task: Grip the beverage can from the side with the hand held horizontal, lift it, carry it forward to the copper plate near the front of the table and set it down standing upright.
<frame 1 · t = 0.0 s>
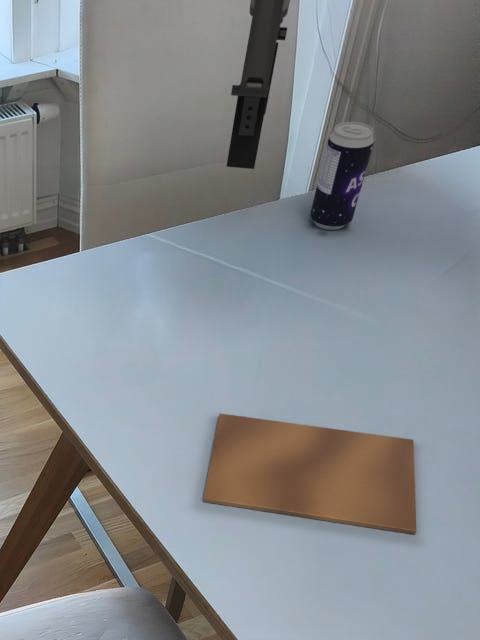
hand: (246, 138, 91), 21 cm above the table, tool pointing down, fingers open, 13 cm apart
copper plate: (310, 471, 89), on the table
beverage can: (329, 224, 122), on the table
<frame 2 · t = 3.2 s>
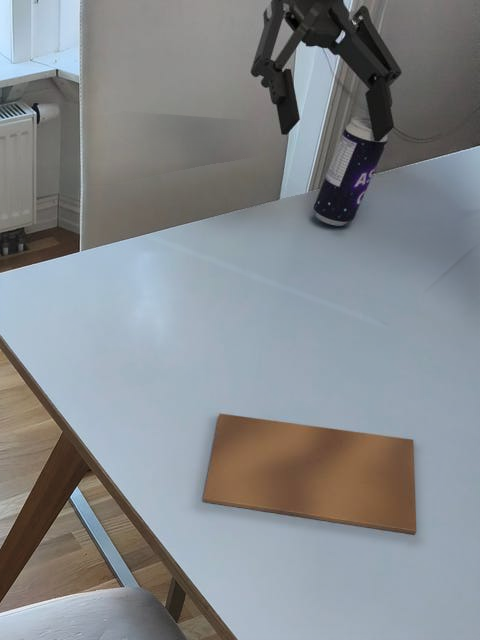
hand: (338, 131, 108), 14 cm above the table, tool tilted 55°, fingers open, 13 cm apart
beverage can: (330, 220, 122), on the table, touching gripper
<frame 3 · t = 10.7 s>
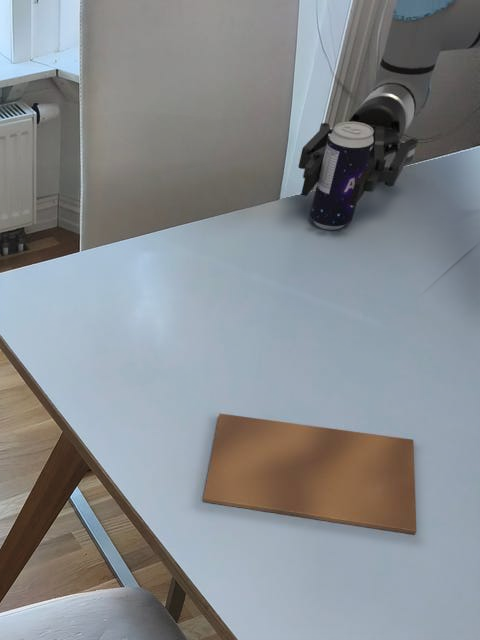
hand: (330, 189, 114), 6 cm above the table, tool horizontal, fingers closed on beverage can, 6 cm apart
beverage can: (328, 224, 122), on the table, touching gripper
when the fingers open (7 cm above the table, at t = 25.5 s): beverage can stays where it is, resting on copper plate.
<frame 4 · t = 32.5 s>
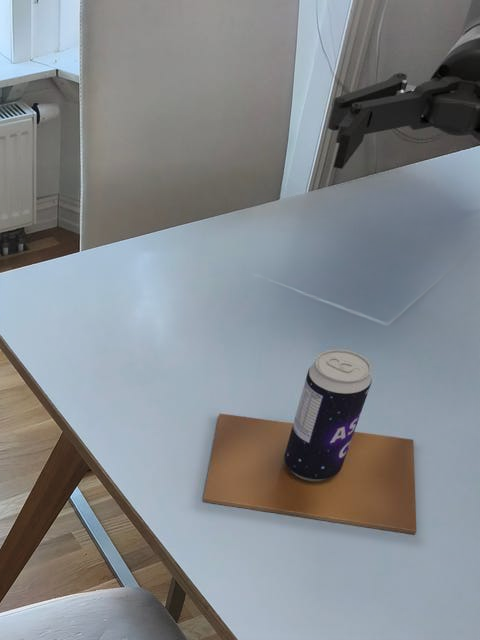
hand: (421, 167, 74), 26 cm above the table, tool horizontal, fingers open, 13 cm apart
beverage can: (310, 469, 89), resting on copper plate
at the end: beverage can inside the target area on the copper plate (0.1 cm from its centre), point 0.3 cm above the copper plate's base; beverage can tilted 0°; the gripper is holding nothing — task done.
